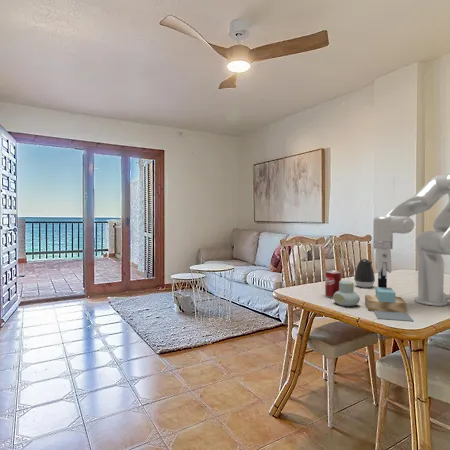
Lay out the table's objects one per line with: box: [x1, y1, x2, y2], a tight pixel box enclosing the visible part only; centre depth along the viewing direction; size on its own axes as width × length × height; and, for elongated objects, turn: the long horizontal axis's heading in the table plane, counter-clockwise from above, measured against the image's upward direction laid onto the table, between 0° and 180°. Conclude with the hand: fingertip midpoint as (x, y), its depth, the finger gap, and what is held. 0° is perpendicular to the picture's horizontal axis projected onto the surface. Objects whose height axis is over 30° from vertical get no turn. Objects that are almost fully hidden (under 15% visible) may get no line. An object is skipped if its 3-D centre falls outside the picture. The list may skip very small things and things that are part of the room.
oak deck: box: [364, 294, 408, 314], centre depth 136 cm, size 14×10×4 cm
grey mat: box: [373, 311, 414, 322], centre depth 126 cm, size 12×10×1 cm
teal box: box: [375, 286, 396, 303], centre depth 135 cm, size 6×9×4 cm, turn 163°
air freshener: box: [332, 280, 361, 307], centre depth 142 cm, size 11×8×10 cm
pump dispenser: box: [353, 258, 376, 289], centre depth 176 cm, size 10×10×15 cm
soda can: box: [324, 270, 342, 299], centre depth 156 cm, size 7×7×12 cm
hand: (382, 287), depth 140 cm, fingers closed
